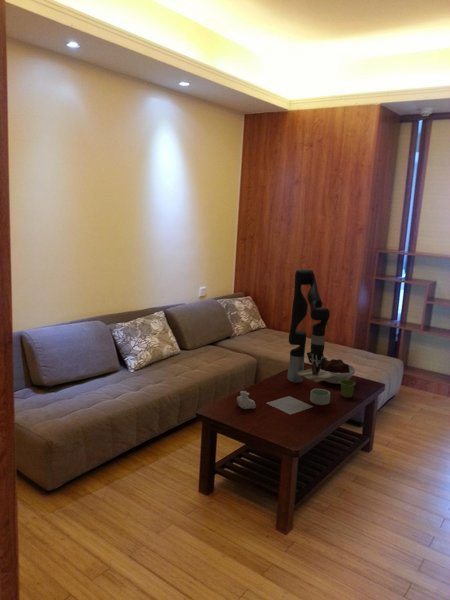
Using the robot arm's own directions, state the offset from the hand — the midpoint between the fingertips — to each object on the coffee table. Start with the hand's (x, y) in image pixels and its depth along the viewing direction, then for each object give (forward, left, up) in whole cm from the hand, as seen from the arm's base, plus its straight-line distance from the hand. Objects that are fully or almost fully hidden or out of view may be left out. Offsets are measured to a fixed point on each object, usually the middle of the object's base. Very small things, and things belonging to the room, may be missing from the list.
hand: (315, 371), depth 278 cm
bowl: (+2, +4, -19) cm, 19 cm away
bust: (-16, -38, -19) cm, 46 cm away
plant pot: (+5, +25, -19) cm, 32 cm away
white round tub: (-16, +40, -19) cm, 47 cm away
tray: (-4, -15, -19) cm, 25 cm away
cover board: (0, 0, -2) cm, 2 cm away
